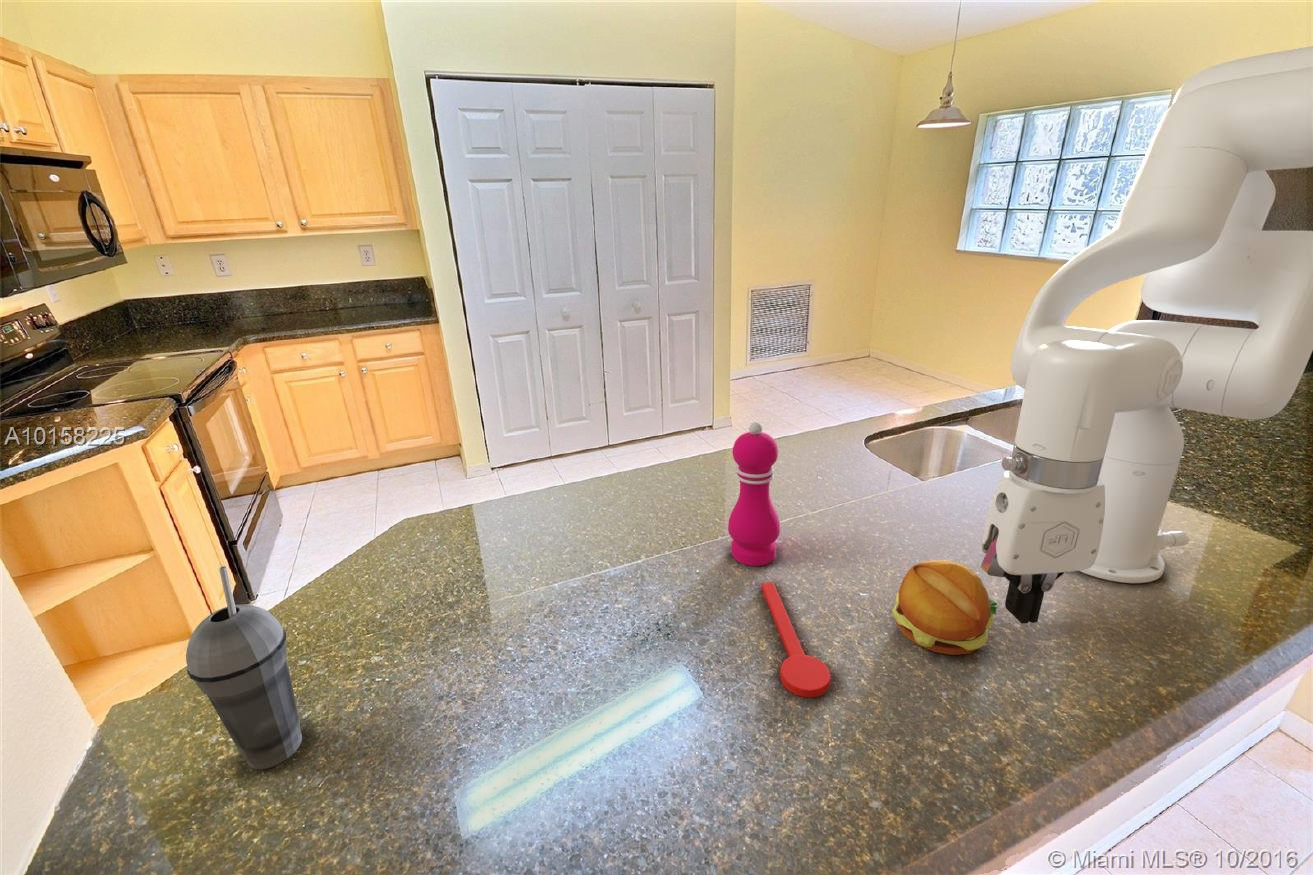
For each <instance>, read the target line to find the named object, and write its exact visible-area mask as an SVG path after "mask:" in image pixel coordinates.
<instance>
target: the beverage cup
mask: <svg viewBox="0 0 1313 875" xmlns="http://www.w3.org/2000/svg"><path fill="white" fill-rule="evenodd" d="M227 567H228V566H226V565H222V566H220V567H219V568H218V569H219V574H220V579H221V583H222V589H223V592H224V593H223V594H224V597H225V603H226V606H225V607H222V608H220V609H217V610H215V611H214V612H212V613H210V614H209V615H208V616H206V617H205V618H204V619H203V620H201V622H200V623H199V624H197V627H195V629H194V630H193V632H192V633H191V635H190V637H189V640H188V643H187V647H186V653H185V662H186V663H185V664H186V666H187V668H186V672H187V673H186V674H187V675H188V677H189V679H191V680H193V681H194V683H195V685H196V686H197V687H198V688H199V690H200V691H201V692H202V694H204V695H206V696H207V698H208V700H209V702H210V703H211V705H212V707H213V708H214V710H215V712H216V714H217V715H218V717H219V719H220V721H221V722H222V724H223V726H224V727H225V729H226V731H227V733H228V734H229V736H230V738H231V739H232V741H233V743H234V745H235V746H236V748H237V750H238V752H239V753H240V756H241V757H243V758H244V760H245V762H246V764H247V766H248V767H249V768H251V769H253V770H267V769H271V768H274V767H275V766H278V765H280V764H281V763H283V762H285V761H286V760H288V759H289V758H290V757H291V756H293V754H295V753H296V751H297V750H298V749H299V747H300V746H301V744H302V742H303V734H302V731H301V720H300V716H299V711H298V706H297V701H296V696H295V692H294V687H293V682H292V676H291V672H290V669H289V668H290V667H289V664H288V659H287V658H288V651H287V632H286V630H285V629H284V628H283V627H282V624H281V623H280V621H279V620H278V619H277V618H276V617H275V616H274V615H273V614H272V613H271V612H270V611H268V610H267V609H266V608H262V607H260V606H257V605H254V604H243V603H242V604H241V603H240V604H236V603H235V600H234V595H233V591H232V586H231V581H230V576H229V572H228V568H227Z"/></svg>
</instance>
